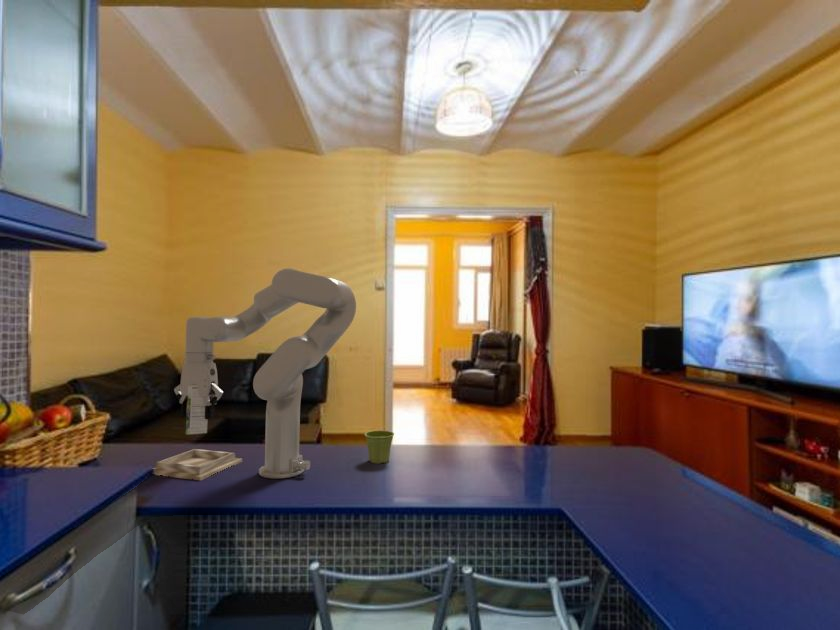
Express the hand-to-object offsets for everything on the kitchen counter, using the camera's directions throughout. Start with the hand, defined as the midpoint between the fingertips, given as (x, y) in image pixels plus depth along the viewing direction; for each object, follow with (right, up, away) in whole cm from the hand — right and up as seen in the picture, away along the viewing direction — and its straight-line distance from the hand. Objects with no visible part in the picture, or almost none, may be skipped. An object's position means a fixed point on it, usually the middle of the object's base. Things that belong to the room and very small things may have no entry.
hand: (197, 417), depth 138 cm
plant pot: (+53, -16, +9) cm, 56 cm away
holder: (0, -15, 0) cm, 15 cm away
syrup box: (0, -5, 0) cm, 5 cm away
